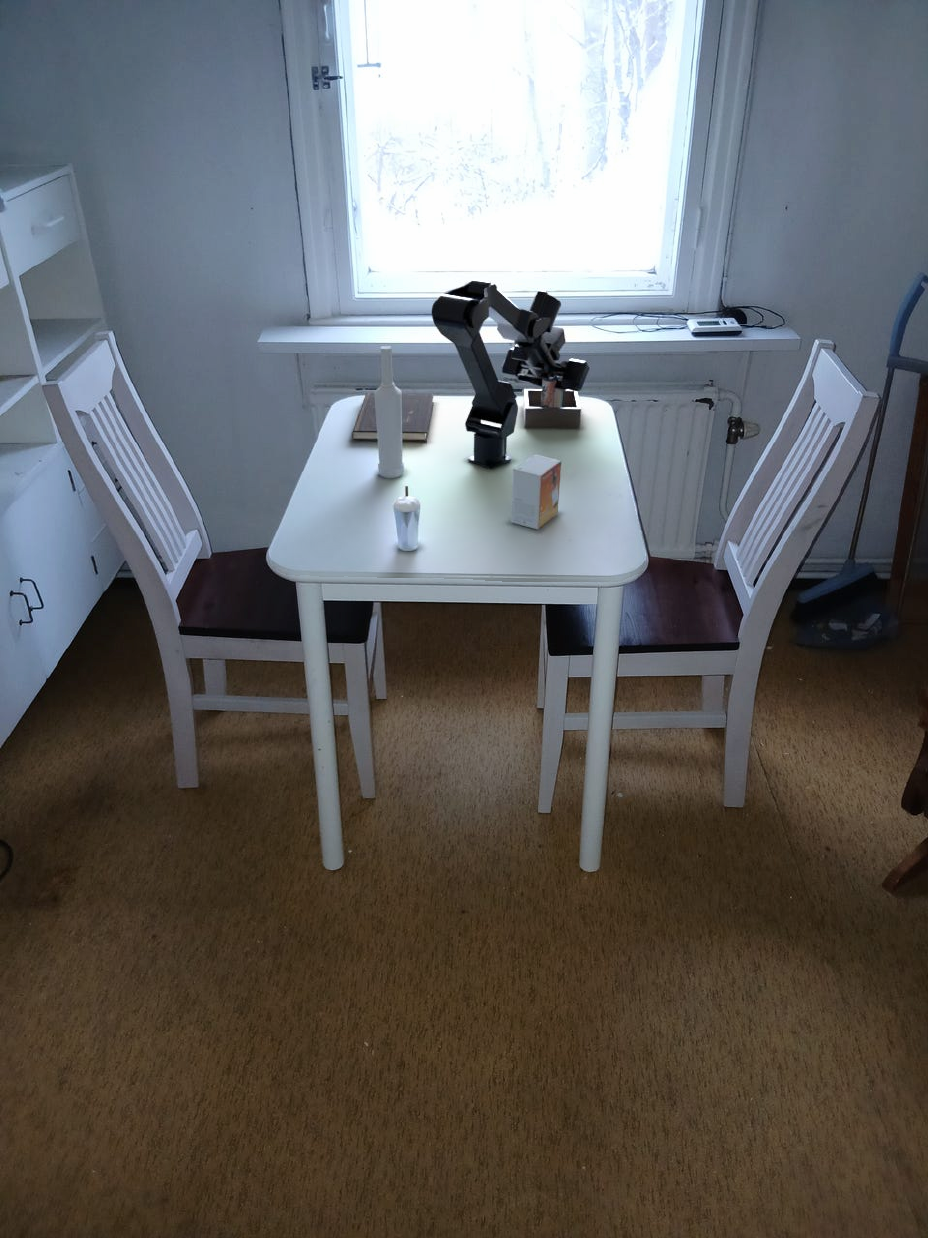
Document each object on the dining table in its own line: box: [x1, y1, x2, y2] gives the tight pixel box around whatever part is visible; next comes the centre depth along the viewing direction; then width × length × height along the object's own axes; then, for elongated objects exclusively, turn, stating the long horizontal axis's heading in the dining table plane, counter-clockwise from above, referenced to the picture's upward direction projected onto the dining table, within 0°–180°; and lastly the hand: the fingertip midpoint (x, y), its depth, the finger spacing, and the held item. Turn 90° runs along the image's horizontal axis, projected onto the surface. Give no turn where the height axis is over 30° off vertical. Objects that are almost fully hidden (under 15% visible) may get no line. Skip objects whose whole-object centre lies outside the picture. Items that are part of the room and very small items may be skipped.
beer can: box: [541, 375, 563, 408], centre depth 203 cm, size 5×5×12 cm
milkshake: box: [392, 485, 421, 552], centre depth 155 cm, size 5×5×10 cm
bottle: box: [373, 345, 405, 479], centre depth 175 cm, size 5×5×25 cm
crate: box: [522, 388, 582, 429], centre depth 206 cm, size 12×12×4 cm
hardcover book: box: [351, 392, 435, 443], centre depth 204 cm, size 16×23×2 cm
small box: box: [510, 454, 562, 530], centre depth 163 cm, size 8×6×10 cm
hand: (555, 387), depth 204 cm, fingers closed on beer can, 5 cm apart
